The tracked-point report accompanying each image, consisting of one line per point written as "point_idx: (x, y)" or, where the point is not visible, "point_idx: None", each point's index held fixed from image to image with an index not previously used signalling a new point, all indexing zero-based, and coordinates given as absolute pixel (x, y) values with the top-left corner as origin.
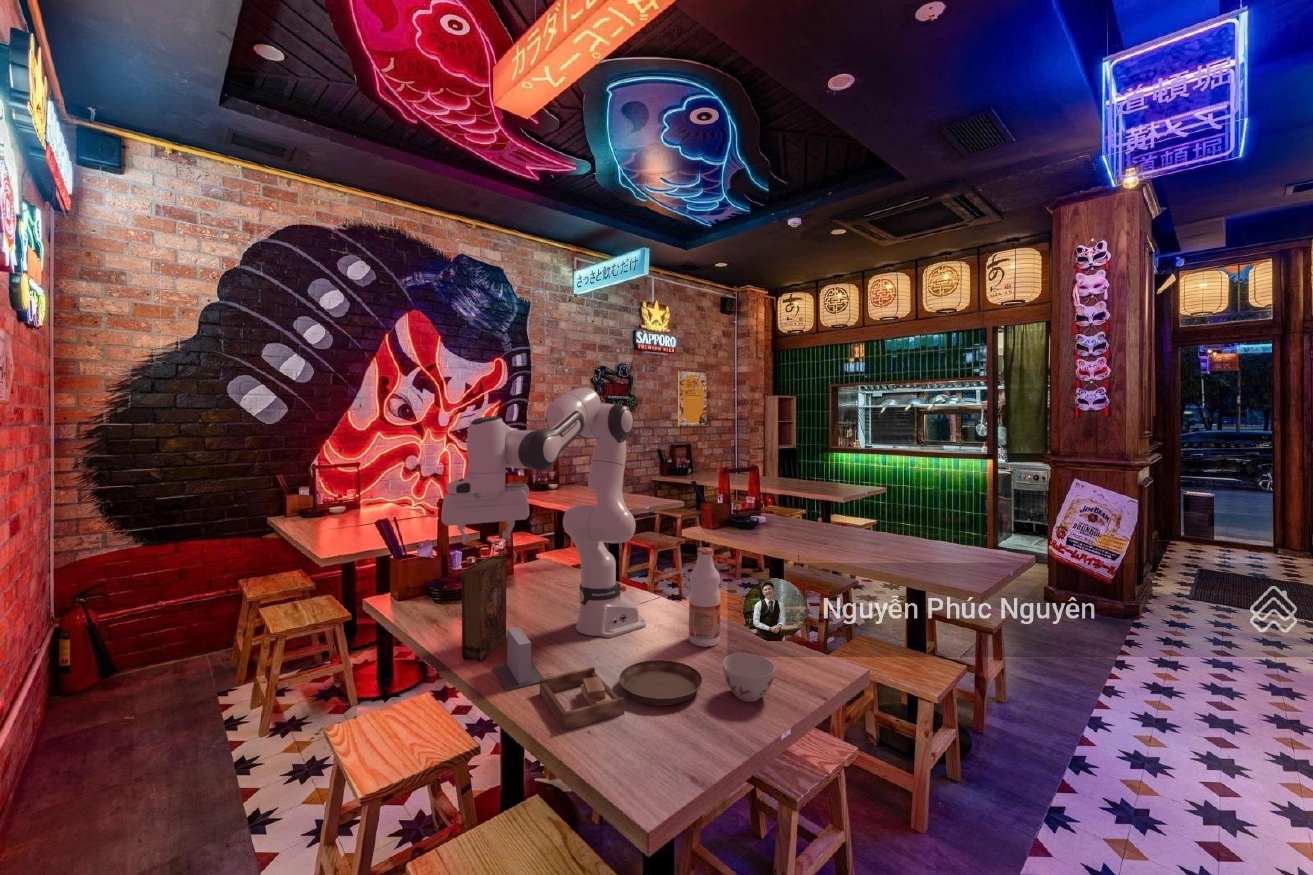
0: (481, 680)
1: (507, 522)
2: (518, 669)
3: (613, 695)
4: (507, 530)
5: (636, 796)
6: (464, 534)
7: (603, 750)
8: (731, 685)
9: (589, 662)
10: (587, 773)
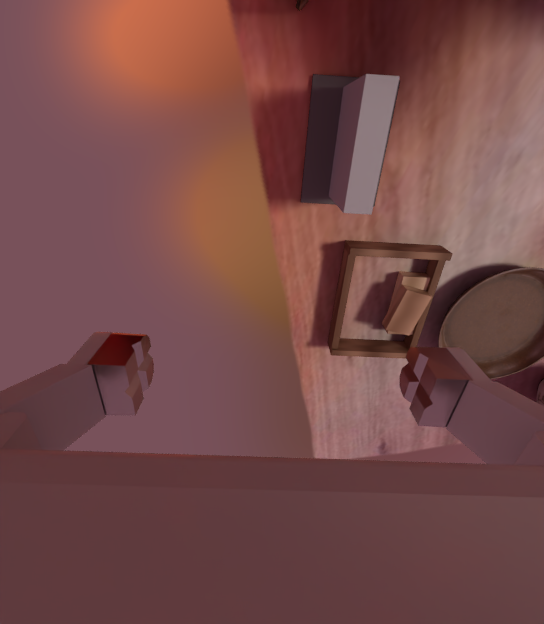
0: (275, 126)
1: (532, 462)
2: (333, 195)
3: (416, 333)
4: (464, 418)
5: (330, 441)
6: (81, 427)
7: (343, 388)
8: (540, 401)
9: (487, 171)
10: (311, 406)
